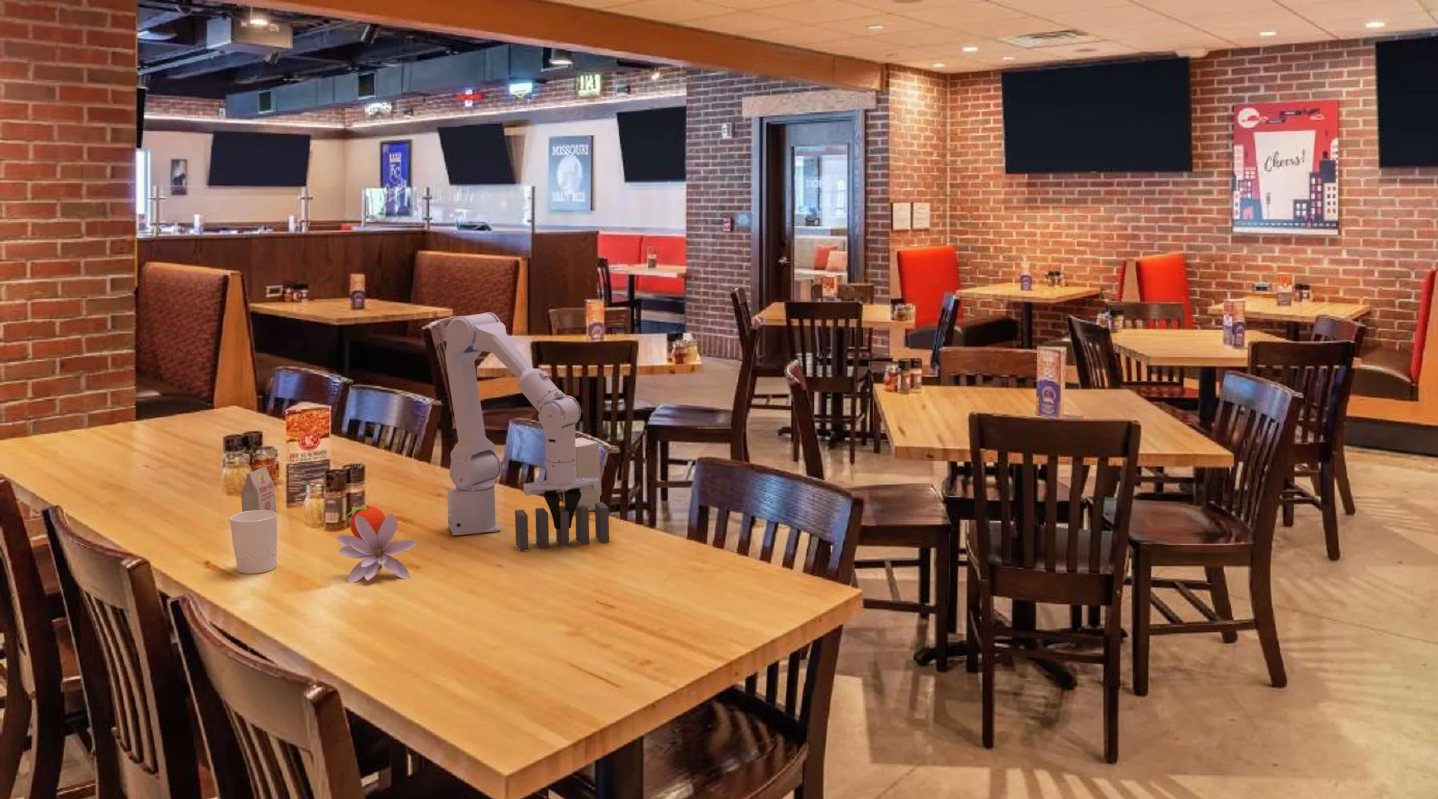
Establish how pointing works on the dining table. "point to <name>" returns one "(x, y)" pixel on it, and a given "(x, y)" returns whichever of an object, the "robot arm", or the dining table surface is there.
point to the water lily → (374, 549)
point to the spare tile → (563, 527)
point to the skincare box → (588, 470)
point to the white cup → (255, 540)
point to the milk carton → (258, 491)
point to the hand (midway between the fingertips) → (562, 527)
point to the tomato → (367, 519)
